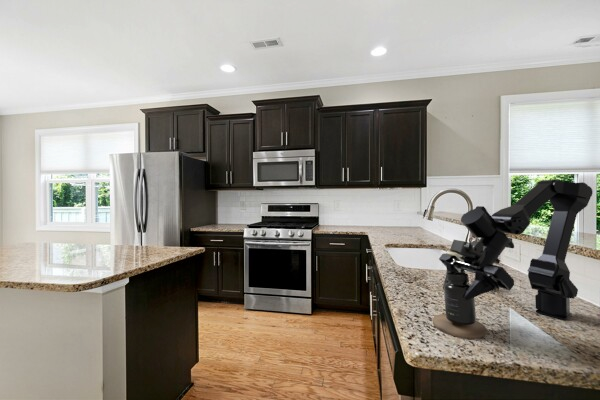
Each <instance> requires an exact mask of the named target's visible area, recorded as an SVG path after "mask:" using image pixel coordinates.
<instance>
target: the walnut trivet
mask: <svg viewBox="0 0 600 400" xmlns="http://www.w3.org/2000/svg"><path fill="white" fill-rule="evenodd" d="M432 325H433V326H434V328H435V329H437V330H438V331H440V332H442V333H444V334H446V335H449V336H452V337H456V338H459V337H461V339H466V338H479V339H482V337H483V338H484V337H486V336H487V328H486V326H485V325H484V324H483V323H481V322H480V321H479V320H476V322H475V323H474V324H471V325H461V324H456V323H453V322H451V321H449V320H448V319H447V318H446V313H440V314H437V315H435V316H433V318H432ZM485 335H486V336H485Z"/></svg>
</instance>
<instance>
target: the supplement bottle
mask: <svg viewBox="0 0 600 400" xmlns="http://www.w3.org/2000/svg"><path fill="white" fill-rule="evenodd" d="M446 273H447V272H446ZM447 280H448V283H446V284H445V285H444V284H443V285H444V289H443V292H444V293H443V295H444V307H445V309H444V310H445V314H446V318H447V319H448V320H449V321H451V322H453V323H456V324H461V325H471V324H474V323H475V322H476V321H477V316H476V314H477V313H476V312H477V311H476V302H475V301H476V300H475V299H476V298H475V297H474V298H471V299H469V300H465V299H464V295H465V293H466V291H467V290H468V288H469V287H470V286H471V284H469V282H470V280H469V274H468V273H466V272H465V273H461V272H449V273H447Z"/></svg>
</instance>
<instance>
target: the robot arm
mask: <svg viewBox="0 0 600 400" xmlns="http://www.w3.org/2000/svg"><path fill="white" fill-rule="evenodd" d="M592 196H593V189H592V187H591V186H590V185H588V184H587V183H585V182H581V181H580V182H571V181H564V180H560V179H544V180H543V179H542V180H539V181H537V182H536V184H535V186H534V187H533V188H531V189H530V190H529V191H528V192H527V193H525V194H524V195H523V196H522V197H521V198H520V199H519V200H517V201H516V202H515V203H513V204H512V205H510V206H507V207H504V208H502V209H500V210H497V211H496V212H494V213H492V215H491V214H490V213H489V211H488V210H487V208H486V207H485V206H478V205H477V206H476V207H475V208H474V209H471V210H468V211H467V212H466V213H463V215H462V216H461V218H460V222H461V223H462V224H463V225H464V227H465V228H466V229H467V230H468V231H469V232H470V233H471V234H472V236H473V237H475V238H478V239H479V240H478V241H476V240H473V241H471V242H468V241H465V240H464V241H463V240H458V239H453V241H452V243H451V246H450V249H449V250H450V251H452V252H456V253H458V254H460V256H459V257H460V258H461V259H462V260H464V263H463V262H461V261H460V260H459V259H458V258H457V257H456V256H455V255H451V254H447V252H446V253H442V254H441V255H440V257H439V258H438V260H439V261H440V262H441V263H442V265H444V267H446V273H445V278H444V282H443V286H442V289H443V290H444V285H445V284H446V283H448V280H447V273H449V272H461V273H463V271H465V272H469V273H472V274H474V280H473V281H472V283H471V284H470V285H471V286H470V287H469V288H468V290H467V291H466V293H465V295H464V299H465V300H469V299H471V298H474V299H475V297H478V296H480V295H483V294H485V293H489V292H492V291H494V290H497V291H498V290H500V289H503V290H506V291H509V292H510V291H511V290H512V288H513V287H514V286H515V279H514V278H513V277H512V276H511V275H510V274H509V272H507V270H506V269H505V268H504V267H503V266H499V265H495V264H499V263H500V262H501V260H500V258H499V257H500V255H501V254H502V253H503V252H504V250H505V249H506V248H509V249H514V248H515V244H514V242H513V238H512V237H509V236H507V234H509V235H518V236H519V235H522V234H523V233H524V232H525V230H526V229H527V228H528V227H529V225H530V224H531V217H532V216H533V215H534V214H535V213H537V211H538V210H540V209H541V208H542V207H543V206H545V204H546V203H547V202H548V201H549V203H550V204H551V206H552V208H553V212H552V217H551V221H550V224H549V228H548V230H547V231H548V232H547V235H546V239H545V242H544V246H543V250H542V254H541V255H540V256H539V257H538V258H532V259H530V262H529V266H528V269H527V276H528V281H529V284H530V287H531V289H532V290H536V291H537V294H535V295H534V296H535V297H534V298H535V302H534V303H535V309H536V310H535V313H537V314H541V315H544V316H547V317H548V316H549V317H551V318H556V319H559V320H562V321H566V320H568V319H569V318H570V317H572V315H573V314H572V312H571V311H570V310H571V309H570V308H571V307H570V306H571V305H570V301H571V299H575V298H577V296H578V292H579V289H578V288H577V287H576V285H575V284H574V282H573V281H572V280H570V276H571V271H570V269H569V267H568V265H567V263H566V258H567V254H568V251H569V246H570V242H571V238H572V234H573V232H574V227H575V224H576V219H577V216H578V214H579V213H580V212H581V211H582V210H584V209H585V208H587V207H588V205H589V203H590V200H591V197H592Z"/></svg>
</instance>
